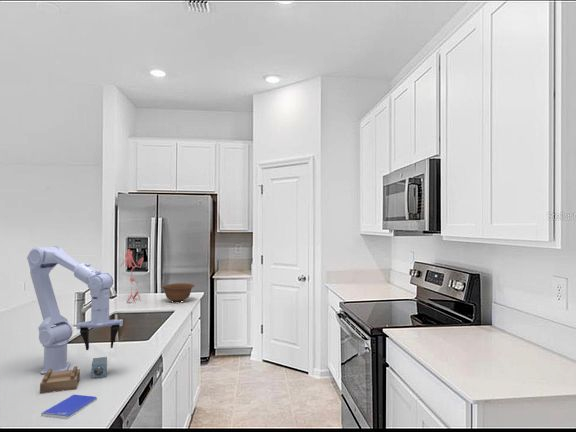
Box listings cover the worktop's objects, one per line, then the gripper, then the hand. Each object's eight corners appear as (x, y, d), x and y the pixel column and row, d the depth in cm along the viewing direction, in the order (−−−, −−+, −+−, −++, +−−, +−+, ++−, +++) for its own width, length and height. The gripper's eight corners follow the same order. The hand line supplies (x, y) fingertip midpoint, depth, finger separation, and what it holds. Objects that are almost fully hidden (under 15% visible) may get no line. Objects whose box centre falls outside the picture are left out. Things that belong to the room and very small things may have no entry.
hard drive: (67, 415, 111) (97, 396, 123) (41, 412, 113) (72, 394, 125) (67, 421, 111) (97, 401, 123) (40, 418, 113) (72, 399, 125)
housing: (93, 372, 146) (93, 358, 146) (106, 370, 148) (107, 356, 148) (91, 379, 139) (91, 364, 139) (105, 378, 141) (106, 363, 141)
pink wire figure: (146, 298, 288) (146, 247, 289) (131, 305, 263) (131, 250, 263) (125, 298, 289) (124, 248, 289) (107, 305, 263) (107, 250, 264)
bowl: (153, 301, 275) (153, 285, 275) (181, 297, 292) (181, 281, 292) (173, 306, 261) (173, 288, 261) (201, 301, 278) (201, 285, 278)
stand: (46, 381, 137) (46, 368, 137) (79, 377, 140) (79, 365, 141) (39, 393, 128) (40, 379, 128) (76, 389, 131) (76, 375, 131)
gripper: (75, 312, 138) (75, 353, 137) (122, 309, 143) (122, 349, 143) (78, 308, 144) (77, 347, 144) (122, 305, 149) (122, 343, 149)
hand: (99, 348), depth 144 cm, fingers open, 7 cm apart
